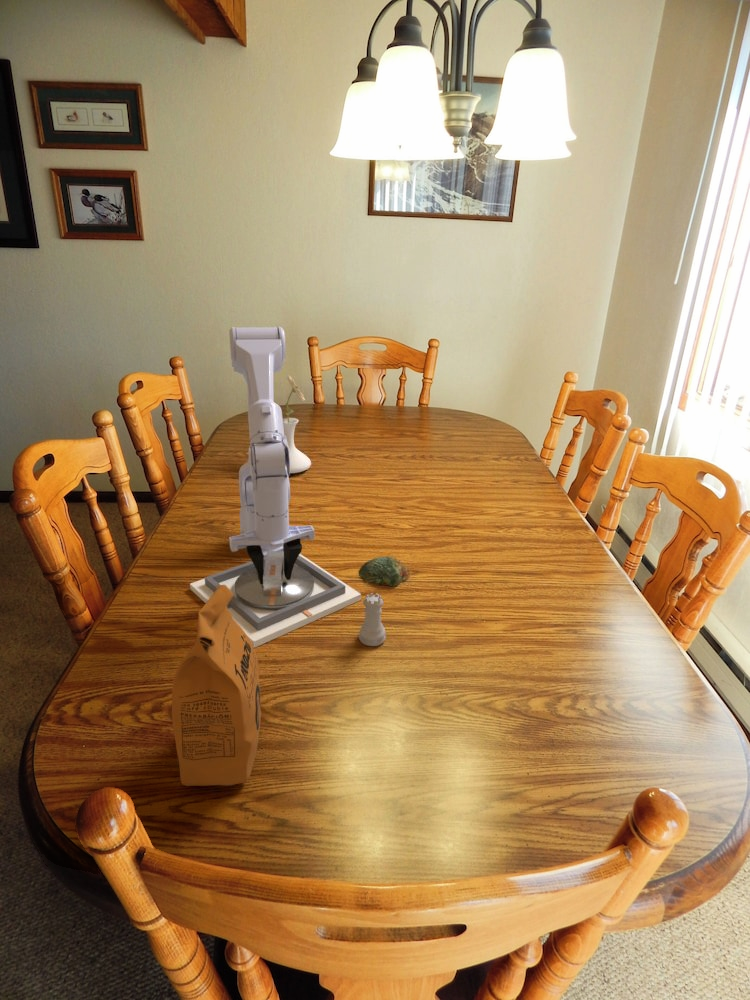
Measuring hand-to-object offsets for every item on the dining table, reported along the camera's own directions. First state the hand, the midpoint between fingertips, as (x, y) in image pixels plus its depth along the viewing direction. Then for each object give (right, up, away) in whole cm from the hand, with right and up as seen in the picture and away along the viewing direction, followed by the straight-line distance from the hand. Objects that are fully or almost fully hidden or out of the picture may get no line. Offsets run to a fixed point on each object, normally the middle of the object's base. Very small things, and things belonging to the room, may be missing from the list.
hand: (274, 579), depth 111 cm
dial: (0, -2, +1) cm, 2 cm away
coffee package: (-1, -18, -32) cm, 37 cm away
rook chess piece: (+17, -9, -10) cm, 22 cm away
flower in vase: (-5, +23, +59) cm, 64 cm away
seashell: (+20, -1, +9) cm, 22 cm away
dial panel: (0, -3, +1) cm, 3 cm away
